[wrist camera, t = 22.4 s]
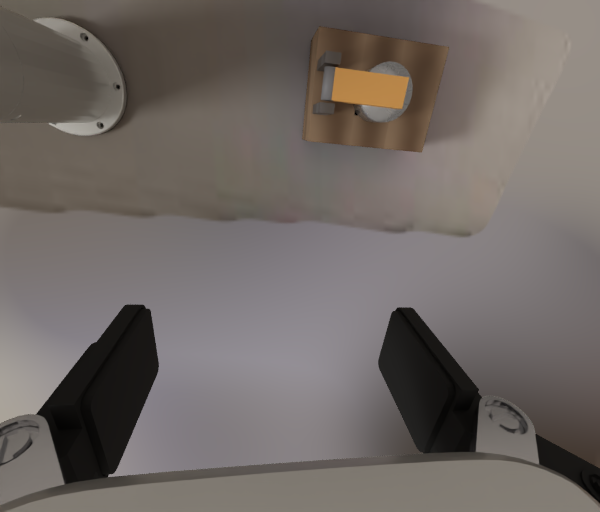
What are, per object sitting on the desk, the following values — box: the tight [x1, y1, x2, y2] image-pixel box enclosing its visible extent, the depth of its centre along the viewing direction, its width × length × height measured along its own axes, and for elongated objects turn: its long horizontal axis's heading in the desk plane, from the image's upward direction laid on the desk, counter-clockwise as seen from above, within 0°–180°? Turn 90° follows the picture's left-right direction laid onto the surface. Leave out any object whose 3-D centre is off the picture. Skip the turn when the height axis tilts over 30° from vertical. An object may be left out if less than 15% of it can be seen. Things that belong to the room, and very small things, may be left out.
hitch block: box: [302, 26, 449, 152], centre depth 36 cm, size 16×12×11 cm
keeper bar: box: [321, 66, 409, 109], centre depth 31 cm, size 9×3×1 cm, turn 84°
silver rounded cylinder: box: [353, 61, 413, 122], centre depth 36 cm, size 6×6×9 cm
